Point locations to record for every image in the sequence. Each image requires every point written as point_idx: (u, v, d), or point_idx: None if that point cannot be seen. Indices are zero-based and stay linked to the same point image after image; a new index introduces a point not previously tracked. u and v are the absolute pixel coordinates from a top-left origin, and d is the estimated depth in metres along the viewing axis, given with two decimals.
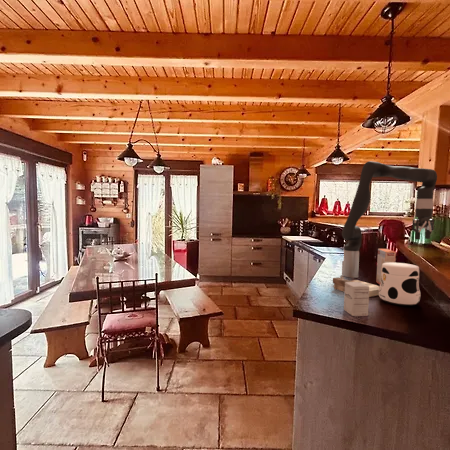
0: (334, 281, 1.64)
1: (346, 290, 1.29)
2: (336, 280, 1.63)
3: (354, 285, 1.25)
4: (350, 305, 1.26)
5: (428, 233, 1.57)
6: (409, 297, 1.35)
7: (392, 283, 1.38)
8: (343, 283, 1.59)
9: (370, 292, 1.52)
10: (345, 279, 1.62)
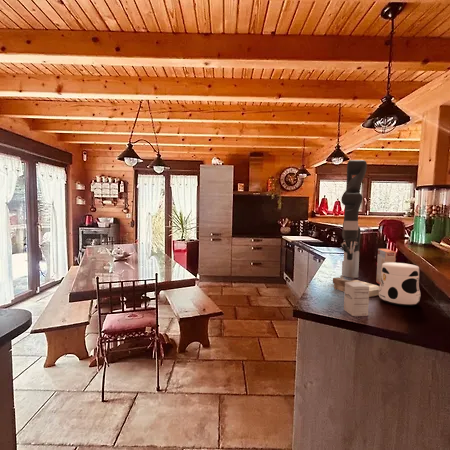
0: (334, 281, 1.64)
1: (346, 290, 1.29)
2: (336, 280, 1.63)
3: (354, 285, 1.25)
4: (350, 305, 1.26)
5: None
6: (409, 297, 1.35)
7: (392, 283, 1.38)
8: (343, 283, 1.59)
9: (370, 292, 1.52)
10: (345, 279, 1.62)
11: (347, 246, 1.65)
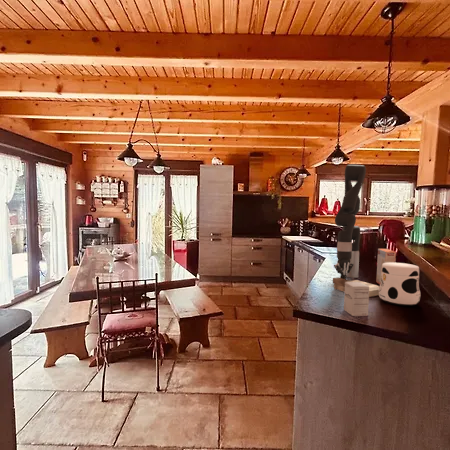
0: (334, 281, 1.64)
1: (346, 290, 1.29)
2: (336, 280, 1.63)
3: (354, 285, 1.25)
4: (350, 305, 1.26)
5: None
6: (409, 297, 1.35)
7: (392, 283, 1.38)
8: (343, 283, 1.59)
9: (370, 292, 1.52)
10: (345, 279, 1.62)
11: (340, 267, 1.64)
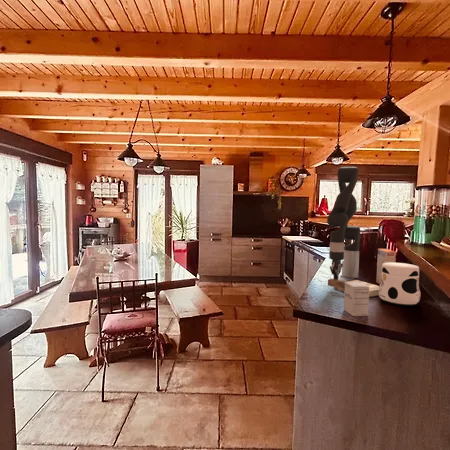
0: (329, 283, 1.61)
1: (346, 290, 1.29)
2: (332, 282, 1.59)
3: (354, 285, 1.25)
4: (350, 305, 1.26)
5: None
6: (409, 297, 1.35)
7: (392, 283, 1.38)
8: (341, 284, 1.56)
9: (370, 292, 1.52)
10: (340, 280, 1.60)
11: None
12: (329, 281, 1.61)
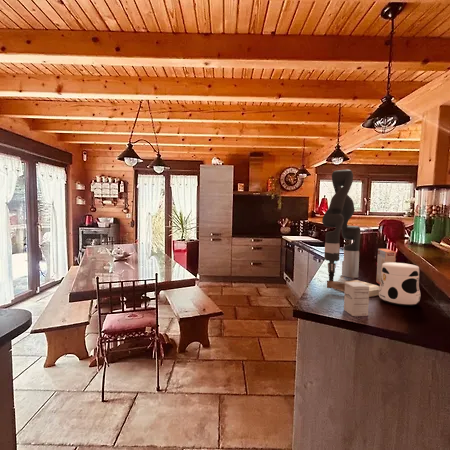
0: (328, 285, 1.55)
1: (346, 290, 1.29)
2: (332, 284, 1.55)
3: (354, 285, 1.25)
4: (350, 305, 1.26)
5: None
6: (409, 297, 1.35)
7: (392, 283, 1.38)
8: (342, 286, 1.53)
9: (370, 292, 1.52)
10: (337, 281, 1.57)
11: None
12: (328, 283, 1.55)
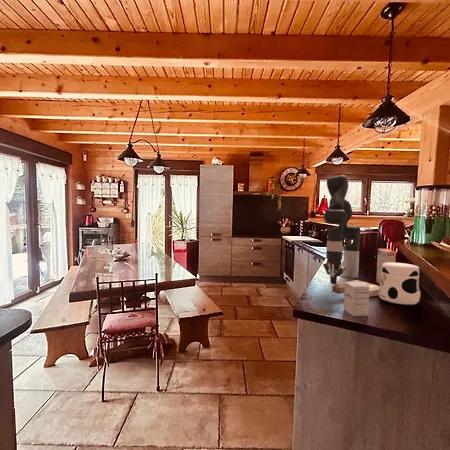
0: (339, 291, 1.45)
1: (346, 290, 1.29)
2: (342, 289, 1.46)
3: (354, 285, 1.25)
4: (350, 305, 1.26)
5: None
6: (409, 297, 1.35)
7: (392, 283, 1.38)
8: None
9: (370, 292, 1.52)
10: (340, 285, 1.50)
11: (337, 269, 1.48)
12: (339, 289, 1.45)
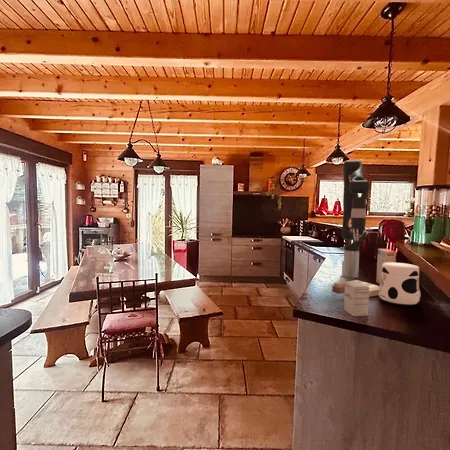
0: (339, 291, 1.45)
1: (346, 290, 1.29)
2: (342, 289, 1.46)
3: (354, 285, 1.25)
4: (350, 305, 1.26)
5: None
6: (409, 297, 1.35)
7: (392, 283, 1.38)
8: None
9: (370, 292, 1.52)
10: (340, 285, 1.50)
11: (361, 234, 1.66)
12: (339, 289, 1.45)
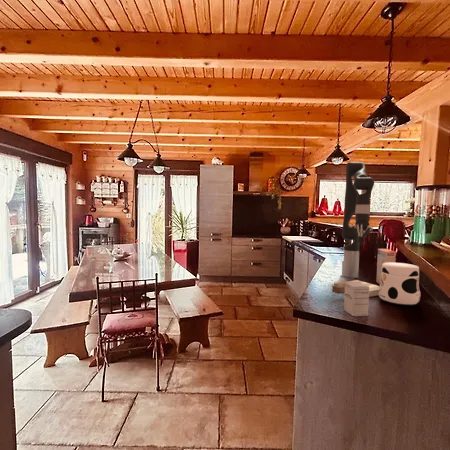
0: (339, 291, 1.45)
1: (346, 290, 1.29)
2: (342, 289, 1.46)
3: (354, 285, 1.25)
4: (350, 305, 1.26)
5: None
6: (409, 297, 1.35)
7: (392, 283, 1.38)
8: None
9: (370, 292, 1.52)
10: (340, 285, 1.50)
11: (365, 229, 1.69)
12: (339, 289, 1.45)
